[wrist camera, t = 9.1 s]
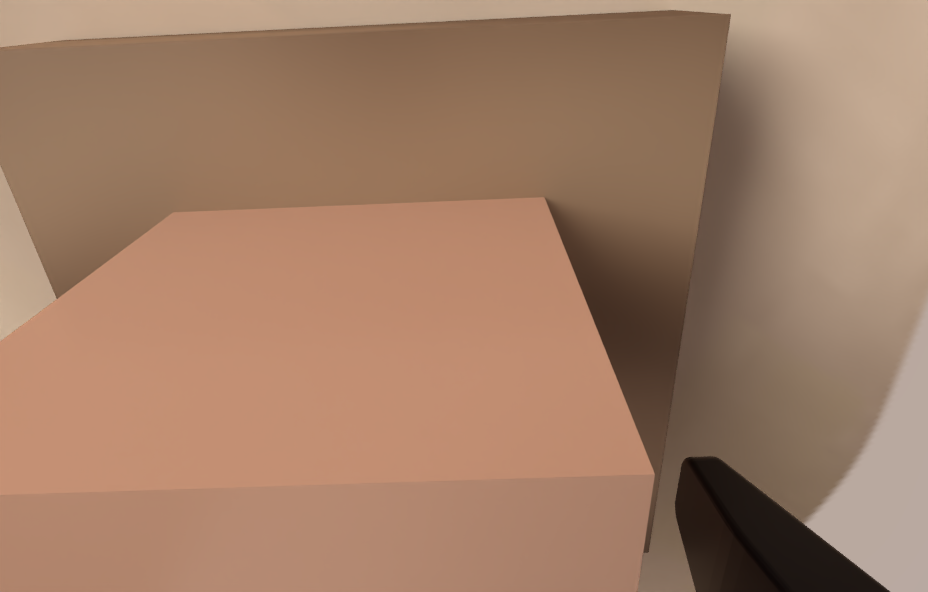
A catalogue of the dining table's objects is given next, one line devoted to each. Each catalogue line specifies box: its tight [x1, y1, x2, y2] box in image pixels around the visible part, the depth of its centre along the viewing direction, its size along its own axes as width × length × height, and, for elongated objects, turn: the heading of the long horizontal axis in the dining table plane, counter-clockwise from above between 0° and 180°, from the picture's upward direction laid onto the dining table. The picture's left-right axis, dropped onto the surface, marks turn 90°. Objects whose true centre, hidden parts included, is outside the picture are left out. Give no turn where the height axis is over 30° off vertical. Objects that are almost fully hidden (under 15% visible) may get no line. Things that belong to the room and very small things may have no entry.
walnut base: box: [0, 10, 731, 553], centre depth 12 cm, size 11×11×2 cm
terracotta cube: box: [0, 197, 655, 592], centre depth 8 cm, size 6×6×6 cm
